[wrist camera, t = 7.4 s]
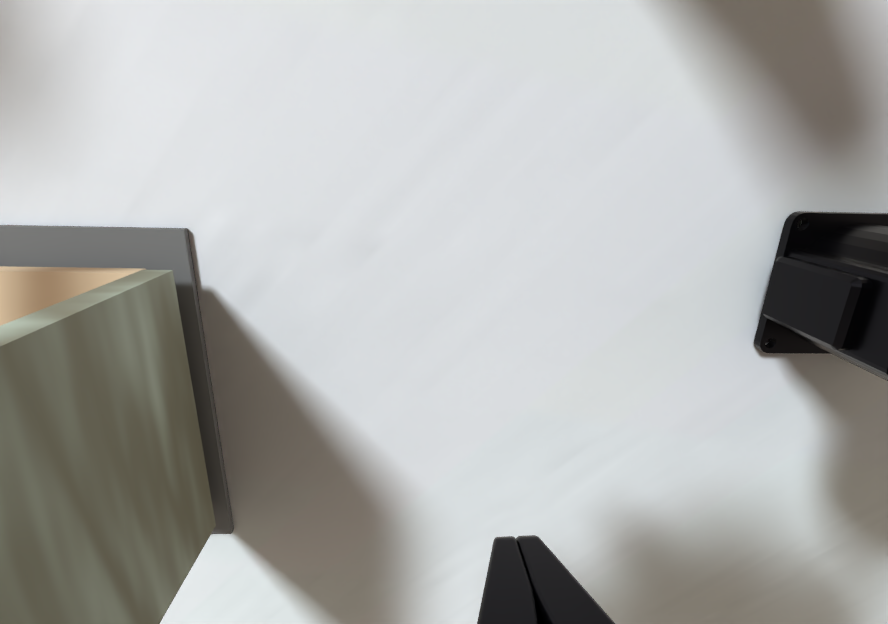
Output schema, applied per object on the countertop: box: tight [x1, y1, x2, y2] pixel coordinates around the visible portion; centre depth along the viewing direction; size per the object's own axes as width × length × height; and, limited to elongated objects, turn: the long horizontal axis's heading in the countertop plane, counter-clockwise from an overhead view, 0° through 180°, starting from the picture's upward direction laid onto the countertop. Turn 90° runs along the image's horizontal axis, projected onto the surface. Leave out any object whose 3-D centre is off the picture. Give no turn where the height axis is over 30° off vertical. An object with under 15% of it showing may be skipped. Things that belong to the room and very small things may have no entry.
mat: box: [0, 225, 233, 534], centre depth 22 cm, size 14×16×1 cm
